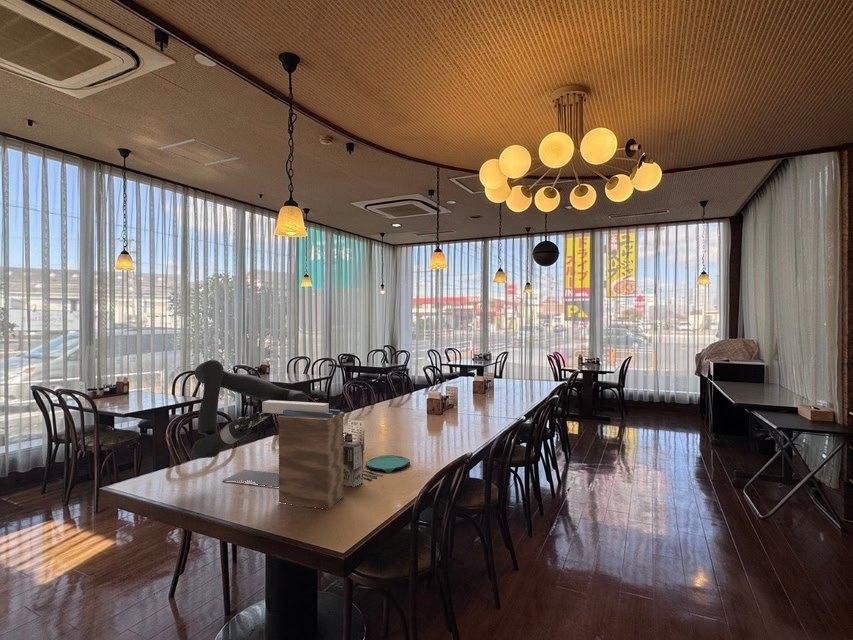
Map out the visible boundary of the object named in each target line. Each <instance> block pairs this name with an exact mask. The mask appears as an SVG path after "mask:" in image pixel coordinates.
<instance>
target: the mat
mask: <svg viewBox="0 0 853 640" xmlns="http://www.w3.org/2000/svg"><path fill="white" fill-rule="evenodd" d="M222 480H223V481H236V482H237V481H238V482H239V481H240V482H241V480H242V482H243V481H244V483H245V481H246V482H247V480H248V481H249V480H250V481H251V480H252V482H255V483H256V484H258V485H265V486H272V487H279V472H270V471H260V470H251V469H244V470H241V471H239V472H237V473H235V474H233V475H231V476H229V477H226V478H225V479H222Z"/></svg>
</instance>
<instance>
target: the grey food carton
mask: <svg viewBox="0 0 853 640" xmlns="http://www.w3.org/2000/svg"><path fill="white" fill-rule="evenodd" d="M363 470H364V444H363V443H359V442H353V441H343V486H346V487H350V486H352V487H351V488H355V486H356V487H357V485H358V486H359V484H360V485H362V484H364V479H363V477H364V475H363V474H364V471H363ZM361 483H362V484H361Z"/></svg>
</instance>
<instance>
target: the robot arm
mask: <svg viewBox="0 0 853 640" xmlns="http://www.w3.org/2000/svg"><path fill="white" fill-rule="evenodd" d="M194 378H196V380H197V381H198V382H199V383H201V384H203V394H202V399H201V401H200V402H201V403H200V406H199V410H198V420H197V432H198V434H201V435H204V437H202V438H200V439H198V440H196V442H194V443H193V445H192V447H191V454H192V456H193V457H195V458H196V459H208V458H209V459H210V458H215V457H217V455H219V453H220V452H221V450H222V449H225V448H227V447H229V446H230V445H231V444H234V443H237V442H238V441H240V440H241V439H243V438H244V437H246V436H248V435H249V434H250V433H251V432H252V428H253V427H255V426H256V425H258V424H260V423H262V422H263V421H265V420H267V419H268V418H270V417H271V415H273V413H263V412H261V413H260V411H256V412H254V413H253V414H251V415H249V416H247V417H243V416H239V417H237V418H236V419H234V420H232V421H231V422H230V423H227V424H226V425H225V426H224V427H222V428H221V429H219V430H218V410H219V409H218V407H219V398H220V393H221V392H220V391H221V388H223V389H227V390H229V391H232V392H234V393H236V394H237V393H238V394H240V395H243V396H246V397H249V398H252V399H256V400H261V401H268V400H274V401H293V402H309V398H308V396H307V394H306V393H304V392H302V391H298V390H294V389H287V388H283V387H280V386H278V385H275V384H274V383H272V382H270V381H268V380H266V379H264V378H261V377H257V376H255V375H250V374H246V373H245V374H244V373H236V372H235V373H234V372H230V371H227V370H225V369H224V366H223V364H222V363H221V362H220V361H219V360H217V359H208V360H206V361H204V362H202V363H200V364H199V365H197V367H196V368H195V370H194Z"/></svg>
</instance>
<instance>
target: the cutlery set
mask: <svg viewBox="0 0 853 640" xmlns="http://www.w3.org/2000/svg"><path fill="white" fill-rule="evenodd" d="M410 463H411V460H410V459H409V458H407V457H405V456H400V455H394V454H386V455H385V454H384V455H379V456H377V457H373V458H370V459H369V460H367V461H366V462H365V467H367V466H368V467H367V468H369V469H372V470H375V471H385V472H386V473H387V472H390V473H392V471H394V470H399V469H402V468H404V467H406V466H408V465H409V464H410ZM372 470H366V469H363V472H364V471H366V472H365V473H364V474H365V476H363V478H365V479H364V480H367V479H369V480H368V481H370V480H371V481H373V478H376V479H377V478H378V476H380V477H381V476H382V477H383V476H384V475H383V474H380V473H376V472H374V471H372ZM368 472H370V473H368ZM371 473H373V474H371ZM366 476H369V477H366ZM372 477H373V478H372Z"/></svg>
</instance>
